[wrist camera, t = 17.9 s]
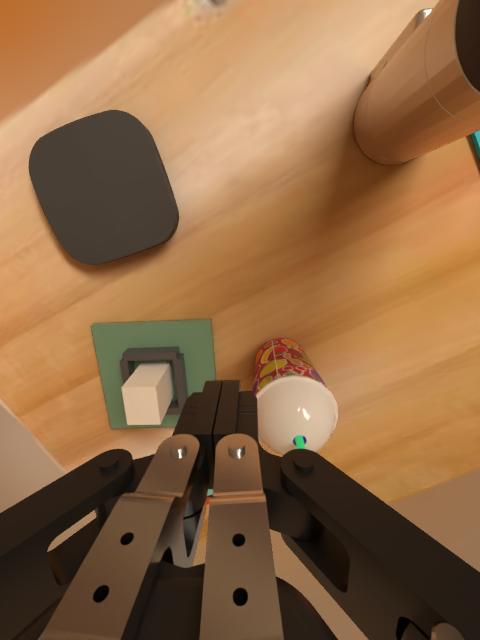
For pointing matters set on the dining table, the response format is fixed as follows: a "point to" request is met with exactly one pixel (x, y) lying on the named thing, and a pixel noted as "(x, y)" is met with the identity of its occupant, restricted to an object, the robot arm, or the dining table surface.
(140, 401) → the plug
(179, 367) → the green insertion board
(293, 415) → the smoothie
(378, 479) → the dining table surface
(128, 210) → the media streaming box
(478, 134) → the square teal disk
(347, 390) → the dining table surface
